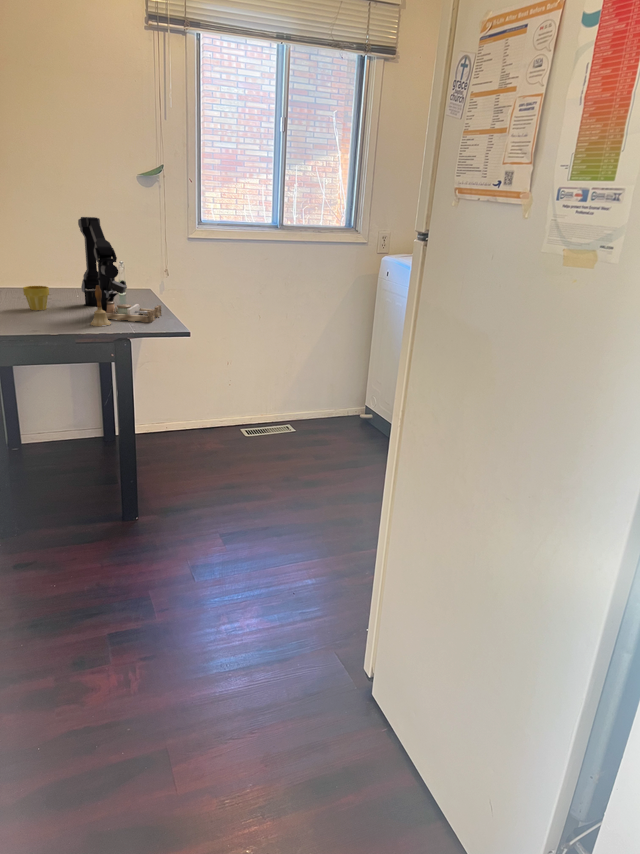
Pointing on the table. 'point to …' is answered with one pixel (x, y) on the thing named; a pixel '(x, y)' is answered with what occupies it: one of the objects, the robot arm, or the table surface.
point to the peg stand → (135, 310)
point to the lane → (151, 315)
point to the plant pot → (36, 297)
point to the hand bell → (99, 310)
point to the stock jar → (123, 308)
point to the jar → (110, 307)
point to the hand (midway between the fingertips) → (107, 310)
